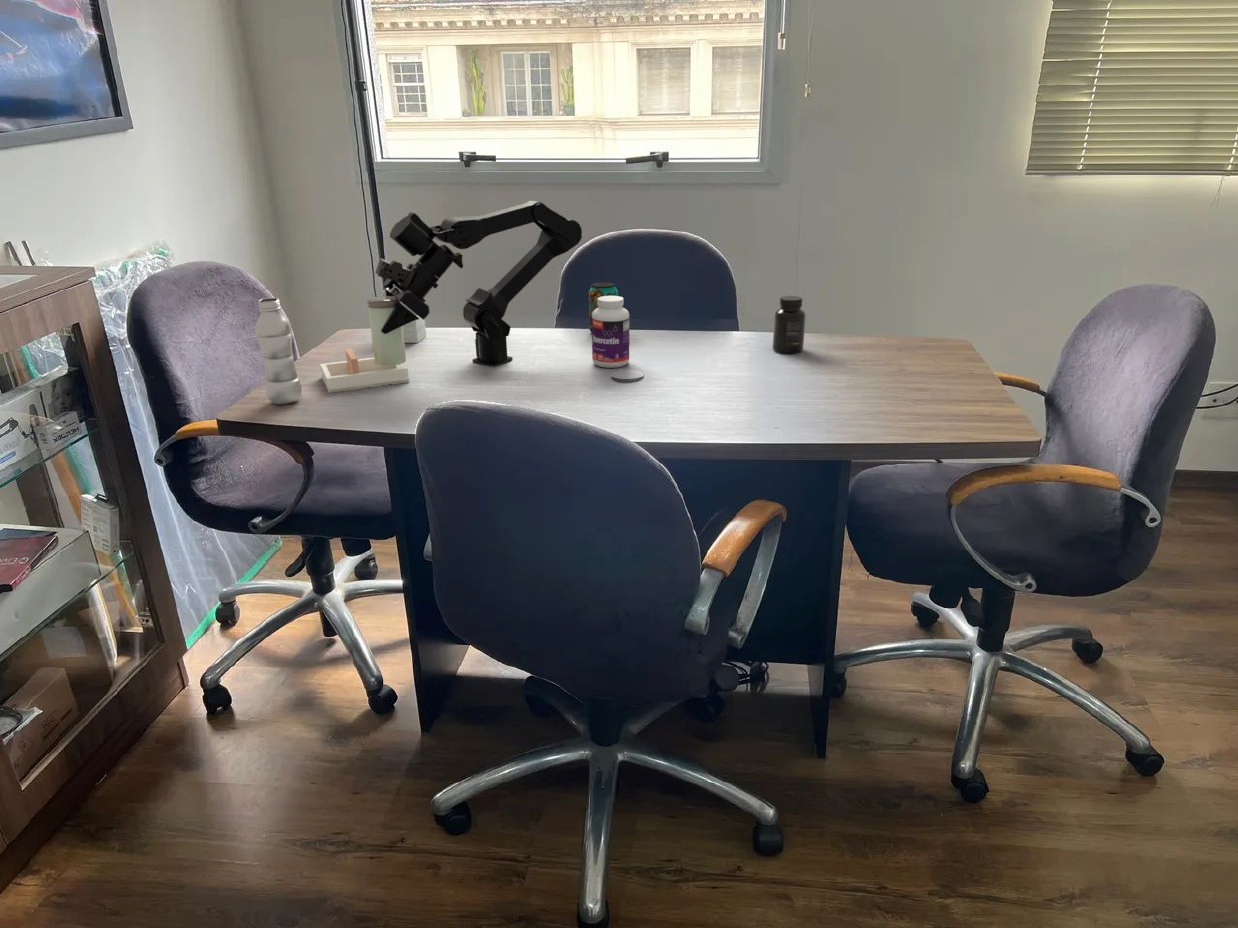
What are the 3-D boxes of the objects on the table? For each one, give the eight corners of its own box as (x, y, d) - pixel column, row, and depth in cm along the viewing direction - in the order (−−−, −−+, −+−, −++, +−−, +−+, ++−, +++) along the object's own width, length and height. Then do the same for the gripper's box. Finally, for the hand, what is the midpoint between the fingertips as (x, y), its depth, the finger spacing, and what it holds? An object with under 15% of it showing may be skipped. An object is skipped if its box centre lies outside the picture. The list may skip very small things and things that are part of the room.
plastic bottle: (310, 398, 174) (295, 297, 166) (288, 409, 168) (270, 305, 161) (283, 395, 176) (266, 295, 168) (260, 406, 170) (241, 303, 163)
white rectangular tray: (398, 368, 192) (397, 354, 191) (409, 382, 183) (407, 368, 182) (322, 377, 187) (320, 364, 185) (328, 393, 177) (326, 378, 176)
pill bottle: (586, 367, 192) (584, 301, 186) (601, 357, 198) (600, 293, 193) (621, 371, 189) (620, 304, 183) (635, 360, 196) (634, 295, 190)
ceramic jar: (412, 357, 188) (405, 296, 183) (398, 366, 182) (391, 304, 177) (383, 356, 189) (376, 295, 184) (368, 364, 183) (360, 302, 178)
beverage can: (587, 336, 215) (586, 286, 210) (592, 329, 221) (591, 280, 217) (615, 337, 214) (615, 287, 209) (620, 329, 220) (620, 281, 215)
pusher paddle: (354, 371, 187) (351, 348, 186) (360, 382, 180) (357, 358, 178) (348, 372, 187) (345, 349, 185) (354, 383, 180) (351, 359, 178)
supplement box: (427, 335, 217) (422, 284, 212) (418, 343, 211) (412, 290, 206) (398, 335, 218) (392, 283, 213) (387, 343, 211) (381, 290, 206)
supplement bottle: (807, 349, 203) (811, 296, 198) (796, 356, 197) (800, 302, 193) (779, 344, 206) (782, 293, 201) (767, 352, 201) (770, 299, 196)
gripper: (388, 237, 186) (341, 295, 186) (406, 251, 170) (355, 314, 170) (429, 272, 192) (383, 327, 192) (450, 288, 176) (400, 349, 176)
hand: (379, 328), depth 182 cm, fingers closed on ceramic jar, 6 cm apart
